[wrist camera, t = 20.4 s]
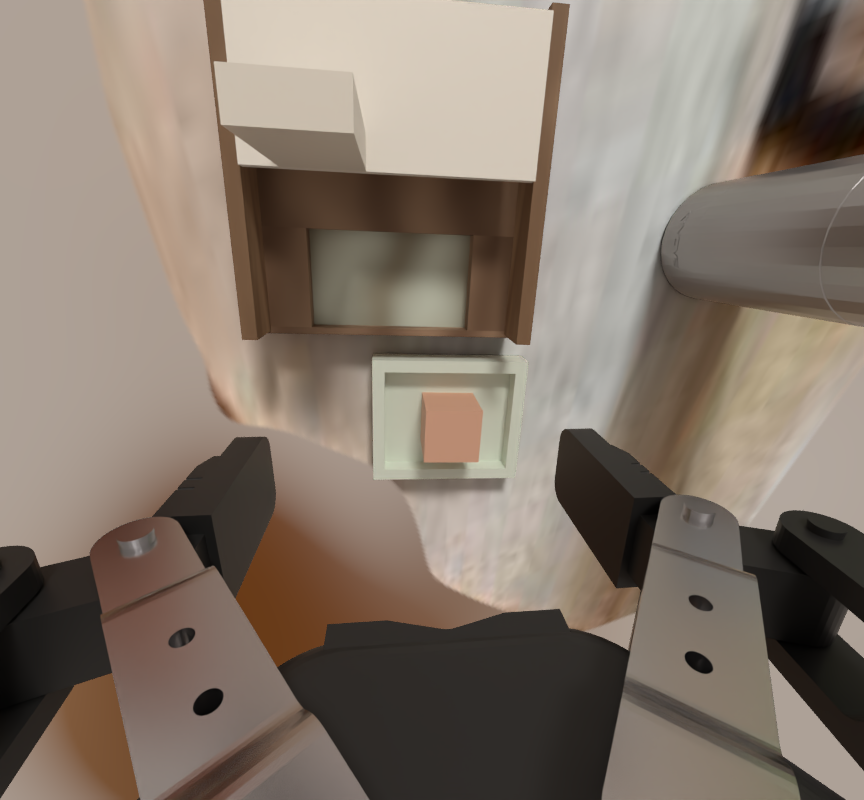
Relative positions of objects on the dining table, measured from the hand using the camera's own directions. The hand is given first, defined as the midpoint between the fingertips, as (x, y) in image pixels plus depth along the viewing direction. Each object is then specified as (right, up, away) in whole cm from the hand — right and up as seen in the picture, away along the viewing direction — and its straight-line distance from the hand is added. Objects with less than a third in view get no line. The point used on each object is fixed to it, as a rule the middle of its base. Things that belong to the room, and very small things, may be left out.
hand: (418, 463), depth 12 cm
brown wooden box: (-3, +17, +21) cm, 27 cm away
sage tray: (+2, +1, +27) cm, 27 cm away
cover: (-2, +19, +13) cm, 23 cm away
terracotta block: (+2, 0, +26) cm, 26 cm away
